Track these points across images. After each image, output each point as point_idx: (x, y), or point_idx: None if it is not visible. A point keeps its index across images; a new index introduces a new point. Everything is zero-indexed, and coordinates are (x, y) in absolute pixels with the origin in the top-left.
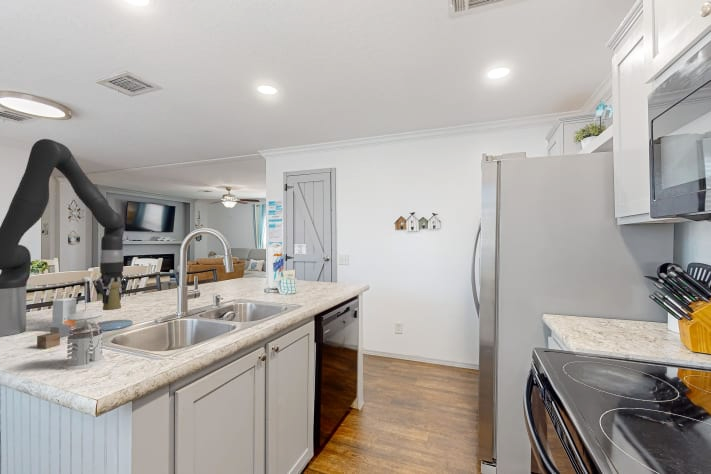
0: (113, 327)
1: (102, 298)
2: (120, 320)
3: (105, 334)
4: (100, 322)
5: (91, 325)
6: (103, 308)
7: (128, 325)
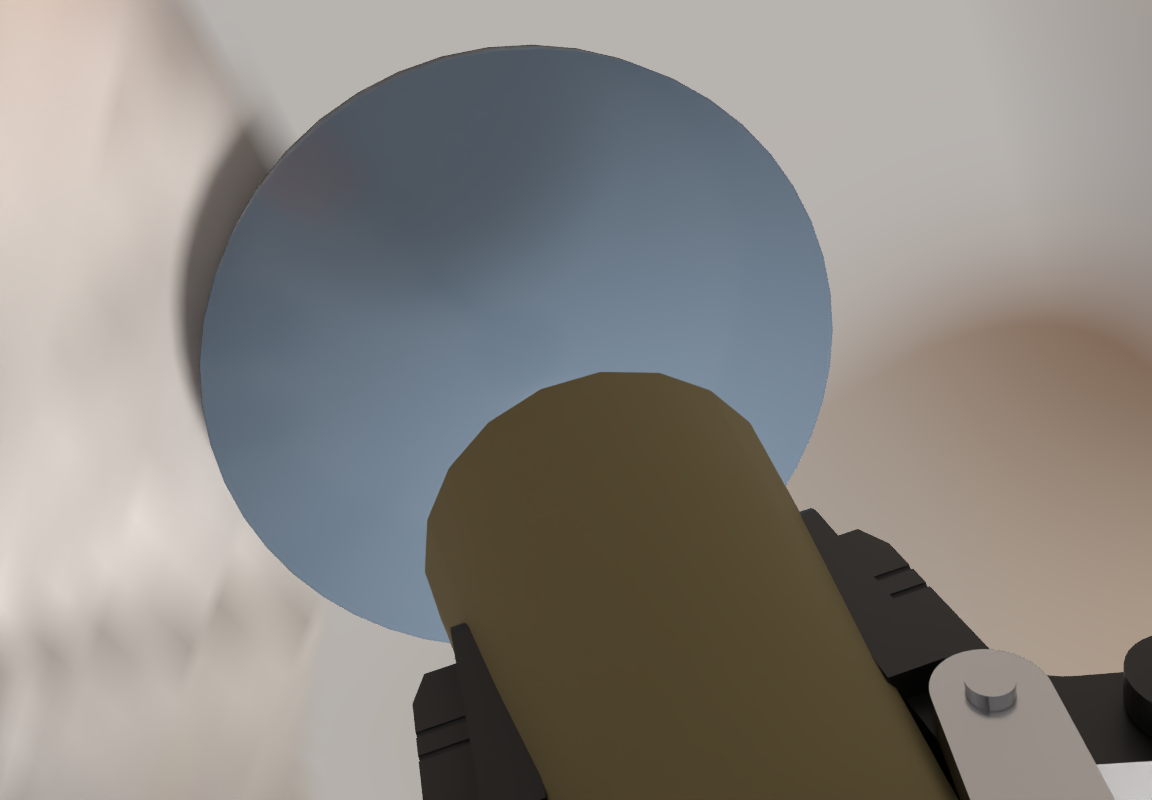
0: (443, 634)
1: (425, 786)
2: (747, 246)
3: (274, 746)
4: (484, 79)
5: (277, 200)
6: (432, 573)
7: None
